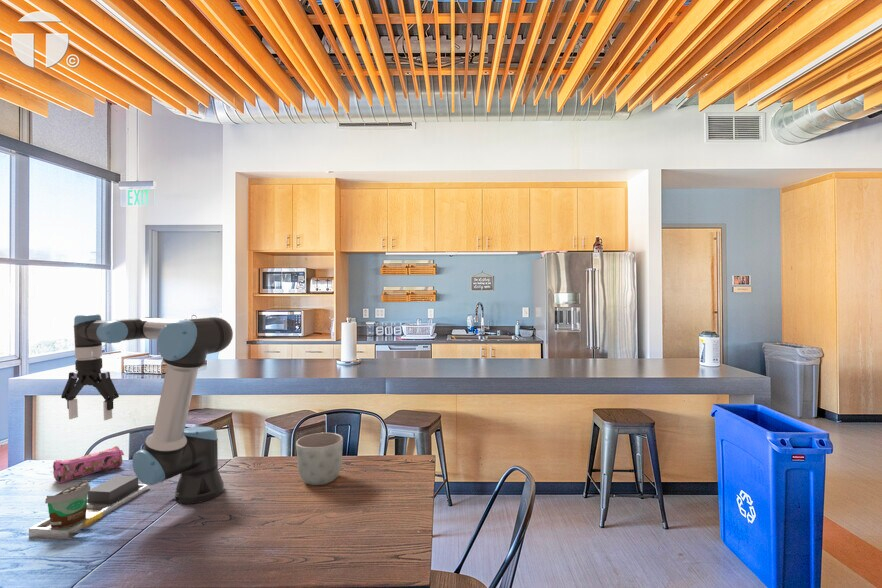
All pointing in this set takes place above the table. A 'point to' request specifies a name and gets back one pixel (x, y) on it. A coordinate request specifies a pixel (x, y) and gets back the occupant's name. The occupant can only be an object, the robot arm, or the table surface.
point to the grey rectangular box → (113, 490)
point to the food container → (68, 505)
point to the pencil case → (87, 464)
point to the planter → (319, 457)
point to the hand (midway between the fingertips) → (90, 418)
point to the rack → (92, 515)
